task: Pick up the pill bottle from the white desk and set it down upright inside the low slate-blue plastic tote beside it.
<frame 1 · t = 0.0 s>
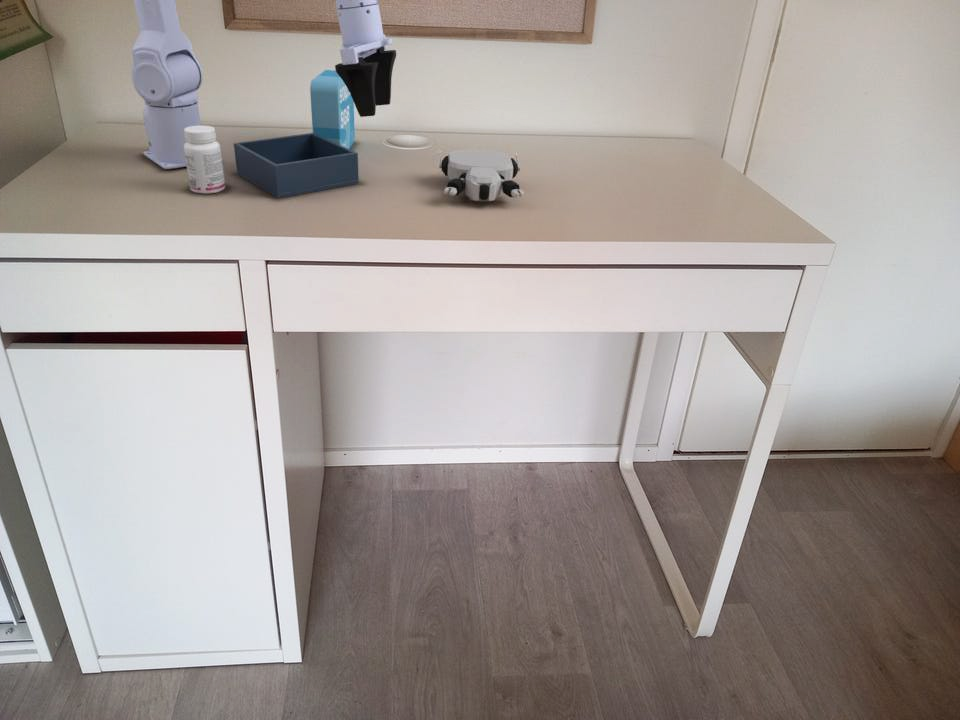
hand: (375, 110, 106), 11 cm above the table, tool pointing down, fingers open, 7 cm apart
pill bottle: (208, 190, 104), on the table
tote: (297, 178, 110), on the table
robot toy: (480, 193, 110), on the table
blue carton: (335, 150, 125), on the table
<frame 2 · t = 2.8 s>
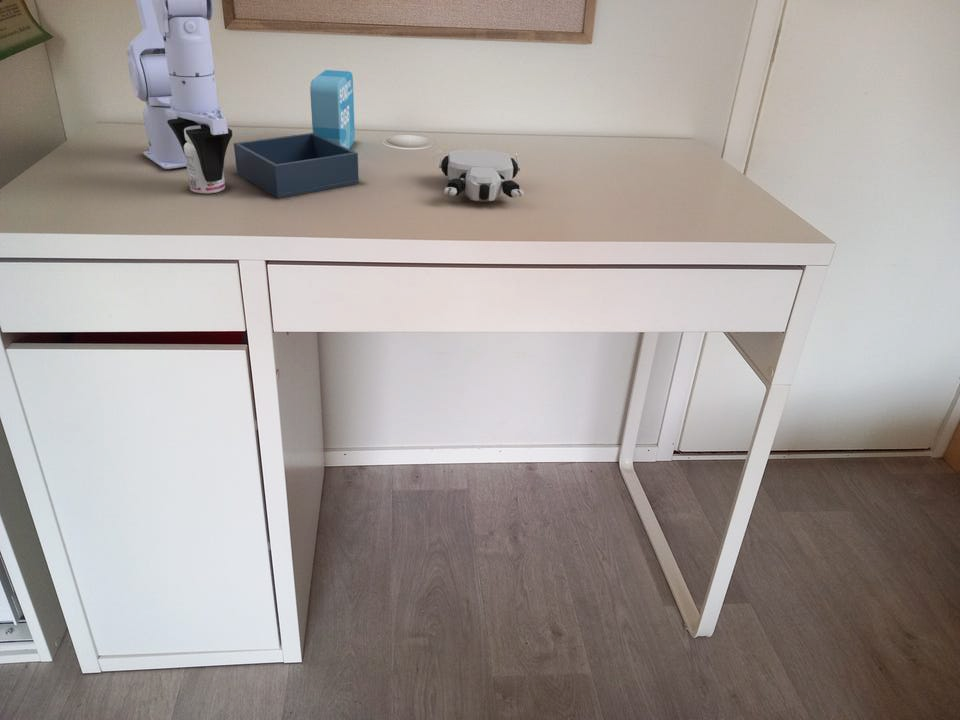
hand: (206, 175, 103), 2 cm above the table, tool pointing down, fingers closed on pill bottle, 5 cm apart
pill bottle: (208, 190, 104), on the table, touching gripper
everything else where it was.
when the fingers open (3 cm above the table, at t = 7.2 s): pill bottle stays where it is, resting on tote.
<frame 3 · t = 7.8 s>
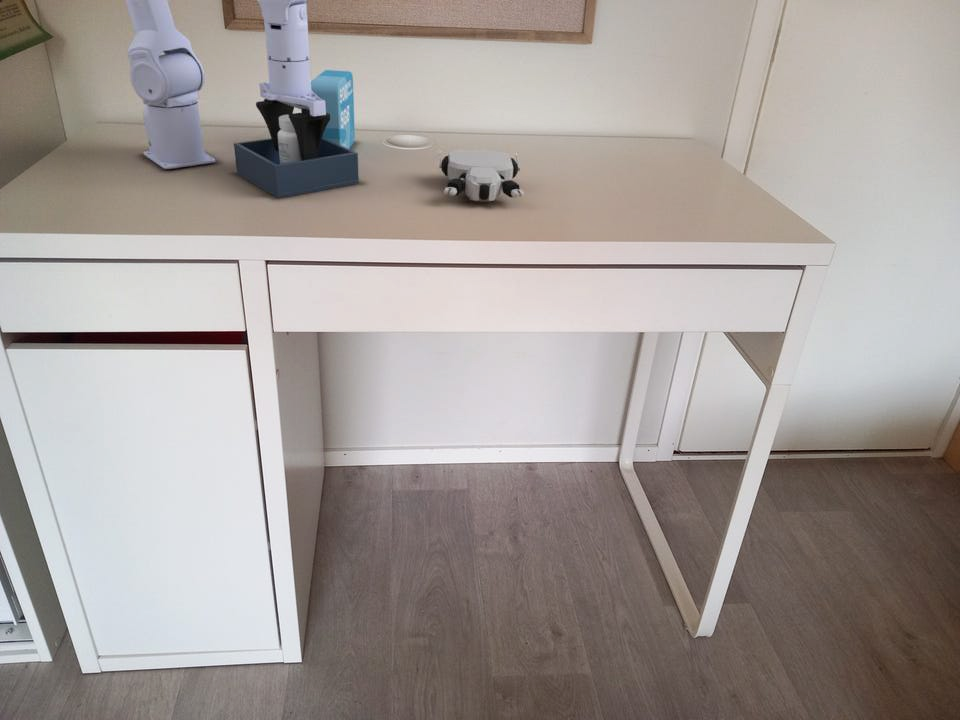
hand: (295, 156, 109), 3 cm above the table, tool pointing down, fingers open, 7 cm apart
pill bottle: (297, 176, 110), resting on tote
everything else where it was.
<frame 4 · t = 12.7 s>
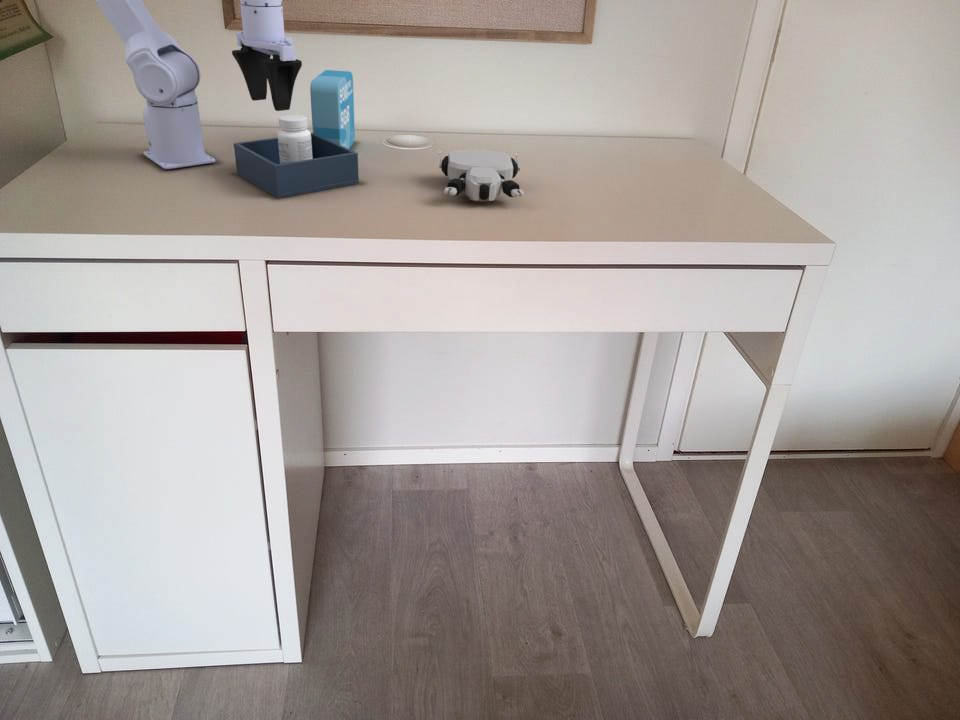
hand: (270, 104, 110), 9 cm above the table, tool pointing down, fingers open, 7 cm apart
nothing on the table moved.
at the end: pill bottle inside the target area in the tote (0.0 cm from its centre), point 0.4 cm above the tote's base; the gripper is holding nothing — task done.
